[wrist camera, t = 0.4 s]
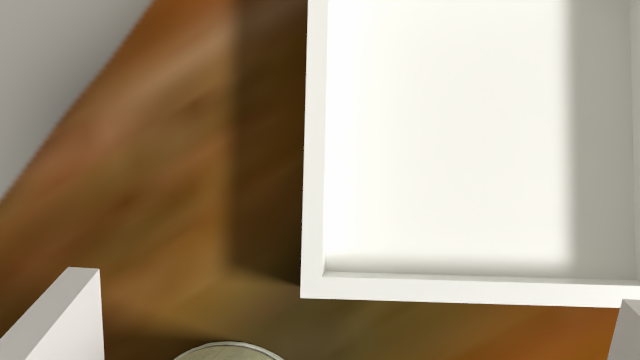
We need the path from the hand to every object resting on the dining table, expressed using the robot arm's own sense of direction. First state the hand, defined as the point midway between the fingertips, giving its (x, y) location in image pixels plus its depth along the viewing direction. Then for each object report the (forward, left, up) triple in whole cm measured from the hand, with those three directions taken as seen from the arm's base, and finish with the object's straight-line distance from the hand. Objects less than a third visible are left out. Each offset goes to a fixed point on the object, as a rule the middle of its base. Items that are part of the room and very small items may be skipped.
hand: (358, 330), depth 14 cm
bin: (+8, -6, -17) cm, 20 cm away
